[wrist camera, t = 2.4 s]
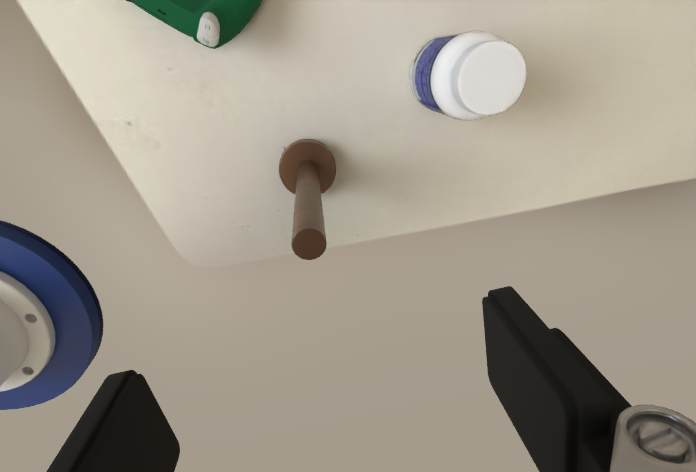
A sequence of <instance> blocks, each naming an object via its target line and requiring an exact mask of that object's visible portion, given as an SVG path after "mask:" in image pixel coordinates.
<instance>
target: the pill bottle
mask: <svg viewBox="0 0 696 472" xmlns="http://www.w3.org/2000/svg"><path fill="white" fill-rule="evenodd" d="M526 72H527V71H526V64H525V60H524V58H523V56H522V54H521V53H520V51H519V50H518V49H517V48H516V47H515V46H514V45H512V44H510V43H508V42H505V41H502V40H501V39H500V38H499V37H497V36H496V35H493V34H491V33H488V32H483V31H471V32H466V33H460V34H455V35H449V36H442V37H438V38H435V39H433V40H431V41H429V42H428V43H426V44H425V45H424V46H423V47H422V48H421V49H420V50H419V51H418V53H417V54H416V56H415V58H414V60H413V62H412V65H411V70H410V84H411V88H412V91H413V93H414V95H415V97H416V98H417V100H418V101H419V102H420V103H421V104H422V105H423V106H425V107H427V108H429V109H431V110H434V111H436V112H439V113H442V114H445V115H447V116H450V117H452V118H455V119H460V120H477V119H481V118H483V117H486V116H489V115H495V114H499V113H501V112H503V111H505V110H506V109H508V108H509V107H510V106H512V105H513V104H514V103H515V102H516V100H517V99H518V98H519V96H520V94H521V93H522V91H523V88H524V85H525V82H526Z"/></svg>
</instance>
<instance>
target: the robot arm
mask: <svg viewBox="0 0 696 472" xmlns="http://www.w3.org/2000/svg"><path fill="white" fill-rule="evenodd" d="M482 304H483V316H484V328H485V341H486V354H487V367H488V376H489V380H490V383H491V385H492V387H493V389H494V391H495V393H496V395H497V396H498V398H499V400H500V402H501V403H502V405H503V407H504V409H505V411H506V412H507V414H508V416H509V418H510V419H511V421H512V423H513V425H514V427H515V428H516V430H517V432H518V434H519V436H520V437H521V439H522V441H523V443H524V444H525V446H526V448H527V450H528V452H529V454H530V455H531V457H532V459H533V461H534V463H535V464H536V466H537V468H538V470H539V471H540V472H696V423H695V422H694V421H692V420H691V419H689V418H687V417H685V416H684V415H682V414H680V413H678V412H676V411H673V410H671V409H668V408H665V407H660V406H654V405H636V406H633V407H632V406H631V405H630V404H629V403H628V402H627V401H626V400H625V399H624V397H623V396H622V395H621V394H620V393H619V392H618V391H617V390H616V389H615V388H614V387H613V386H612V385H611V384H610V382H609V381H608V380H607V379H606V378H605V377H604V376H603V375H602V374H601V373H600V372H599V371H598V369H597V368H596V367H595V366H594V365H593V364H592V363H591V362H590V361H589V360H588V359H587V358H586V357H585V355H583V353H582V352H581V351H580V350H579V349H578V348H577V347H576V346H575V345H574V344H573V343H572V342H571V340H570V339H569V338H568V337H567V336H566V335H565V334H564V333H563V332H562V331H561V330H559V329H557V328H553V329H549V328H548V327H547V326H546V325H545V324H544V322H542V320H541V319H540V318H539V317H538V316H537V314H536V313H535V312H534V311H533V310H532V309H531V308H530V307H529V306H528V304H526V302H525V301H524V300H523V299H522V298H521V297H520V295H519V294H518V293H517V292H516V291H515V290H514V289H513V288H512V287H510V286H509V287H504V288H499V289H495V290H491V291H489V293H488V297H484V298H483V301H482ZM55 343H56V339H55V329H54V325H53V322H52V319H51V317H50V315H49V313H48V311H47V310H46V308H45V306H44V305H43V304H42V303H41V301H40V300H39V299H38V298H37V296H36V295H35V294H34V293H32V292H31V291H30V290H29V289H28V288H27V287H26V286H25V285H23V284H22V283H20V282H19V281H17V280H16V279H14V278H13V277H11V276H10V275H8V274H6V273H3V272H1V271H0V392H1V391H7V390H11V389H14V388H17V387H20V386H22V385H24V384H25V383H27V382H29V381H31V380H32V379H33V378H34V377H36V376H37V375H38V374H39V373H40V372H41V371H42V369H43V368H44V367H45V366H46V365H47V363H48V362H49V360H50V358H51V356H52V355H53V352H54V348H55ZM179 453H180V447H179V443H178V440H177V438H176V436H175V434H174V433H173V431H172V429H171V427H170V425H169V423H168V421H167V419H166V418H165V416H164V414H163V412H162V410H161V408H160V406H159V404H158V403H157V401H156V399H155V397H154V395H153V393H152V391H151V389H150V388H149V386H148V384H147V382H146V380H145V378H144V377H143V375H141V374H137V373H136V372H135V371H134V370H129V371H125V372H120V373H115V374H111V375H109V376H108V377H107V378H106V379H105V381H104V382H103V384H102V385H101V387H100V389H99V390H98V392H97V393H96V395H95V396H94V398H93V400H92V401H91V403H90V404H89V406H88V407H87V409H86V411H85V412H84V414H83V415H82V417H81V418H80V420H79V421H78V423H77V425H76V426H75V428H74V429H73V431H72V432H71V434H70V435H69V437H68V439H67V440H66V442H65V443H64V445H63V446H62V448H61V450H60V451H59V453H58V454H57V456H56V458H55V459H54V461H53V462H52V464H51V465H50V467H49V469H48V470H47V472H174V470H175V467H176V464H177V461H178V458H179Z"/></svg>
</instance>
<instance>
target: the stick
mask: <svg viewBox="0 0 696 472" xmlns="http://www.w3.org/2000/svg"><path fill="white" fill-rule="evenodd" d="M279 174H280V178H281V180H282V182H283V184H284V186H285V187H286V188H287V189H288V190H289V191H290V192H292V193H294V194H295V206H294V220H293V233H292V249H293V251H294V253H295V254H296V255H297V256H299V257H300V258H302V259H306V260H312V259H316V258H318V257H320V256H321V255H322V254H323V252H324V251H325V249H326V235H325V226H324V217H323V209H322V200H321V194H322V193H324V192H325V191H326V190H327V189H328V188H329V187H330V186H331V185H332V183H333V181H334V179H335V175H336V165H335V161H334V158H333V155H332V153H331V152H330V150H329V149H328V148H327V147H326V146H325V145H323V144H322V143H320V142H318V141H316V140H311V139H303V140H299V141H296V142H294V143H292V144H291V145H289V146H288V147H287V148H286V149H285V151H284V152H283V154H282V156H281V159H280V164H279Z"/></svg>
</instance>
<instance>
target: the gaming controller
mask: <svg viewBox="0 0 696 472" xmlns="http://www.w3.org/2000/svg"><path fill="white" fill-rule="evenodd" d="M126 1H129V2H132V3H134V4H135V5H137V6H138V7H140V8H141V9H143V10H144V11H146V12H147V13H149V14H151V15H152V16H154V17H156V18H157V19H159V20H161V21H163V22H164V23H166V24H168V25H170V26H171V27H173V28H175V29H176V30H178V31H180V32H182V33H184V34H186V35H188V36H190V37H193V39H194V40H195V41H196V42H198V43H200V44H202V45H204V46H207V47H210V48H213V49H215V48H218V47H220V46H222V45H224V44H225V43H227V42H229V41H230V40H232V39H233V38H234V37H235V36H236V35H237V34H239V33H240V31H241V30H242V29H243V28H244V27H245V25H246V24H247V23H248V22H249V21H250V19H251V17H252V16H253V14H254V13H255V11H256V10H257V8H258V6H259V5H260V3H261V1H262V0H126Z"/></svg>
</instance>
